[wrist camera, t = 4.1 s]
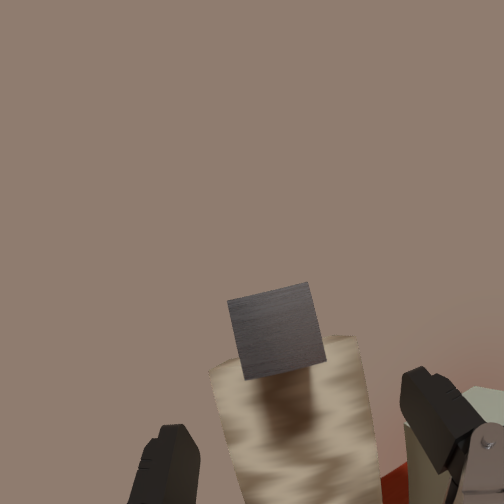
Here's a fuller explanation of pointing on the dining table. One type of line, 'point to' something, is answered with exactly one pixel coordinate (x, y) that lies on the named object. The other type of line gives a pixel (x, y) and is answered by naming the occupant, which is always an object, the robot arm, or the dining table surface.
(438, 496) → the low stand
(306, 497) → the tall stand
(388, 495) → the dining table surface
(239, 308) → the metal bar
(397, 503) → the dining table surface
